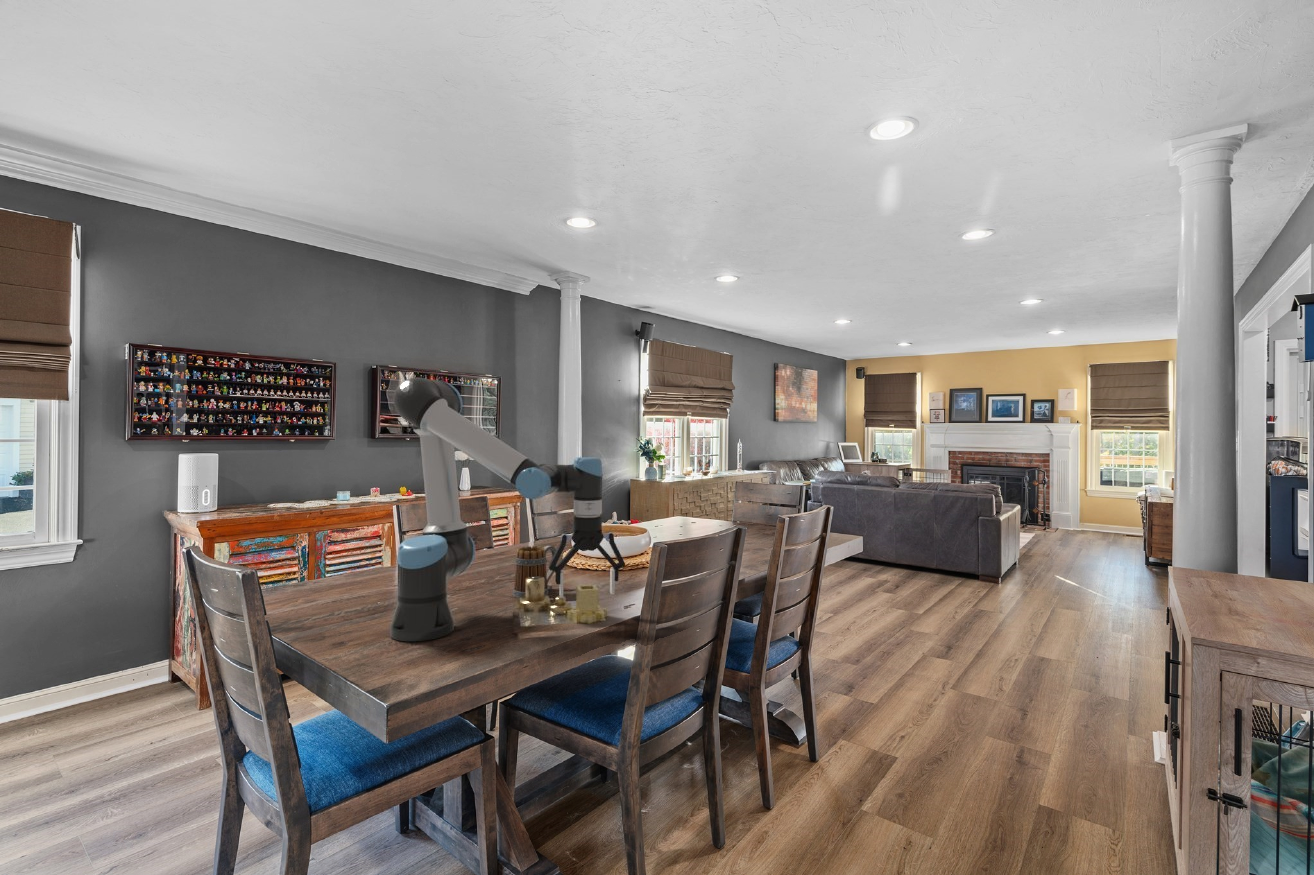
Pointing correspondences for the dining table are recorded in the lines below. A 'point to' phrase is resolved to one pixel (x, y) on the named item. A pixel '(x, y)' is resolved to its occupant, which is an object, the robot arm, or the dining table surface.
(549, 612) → the carrier
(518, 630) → the dining table surface
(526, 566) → the mug
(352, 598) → the dining table surface
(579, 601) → the gear
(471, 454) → the robot arm
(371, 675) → the dining table surface
